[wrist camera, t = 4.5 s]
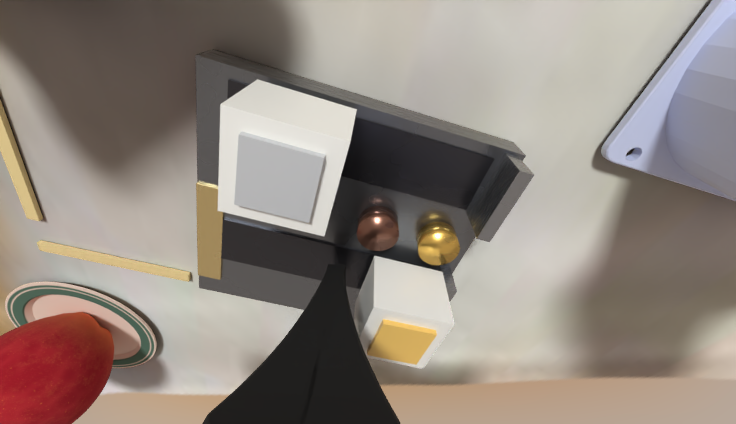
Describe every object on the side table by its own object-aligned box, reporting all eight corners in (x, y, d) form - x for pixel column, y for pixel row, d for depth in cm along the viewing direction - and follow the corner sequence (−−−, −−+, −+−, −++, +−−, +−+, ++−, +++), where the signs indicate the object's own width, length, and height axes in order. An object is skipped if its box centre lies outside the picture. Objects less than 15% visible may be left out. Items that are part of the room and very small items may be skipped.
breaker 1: (356, 109, 10) (349, 144, 7) (334, 190, 11) (323, 241, 9) (257, 79, 9) (216, 106, 7) (249, 168, 11) (214, 214, 9)
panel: (513, 142, 12) (543, 174, 10) (413, 313, 18) (417, 358, 15) (213, 49, 10) (169, 62, 8) (210, 269, 16) (184, 311, 14)
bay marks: (180, 22, 10) (177, 22, 10) (190, 278, 16) (188, 281, 16) (-74, -59, 9) (-83, -60, 9) (43, 247, 16) (39, 250, 15)
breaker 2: (442, 271, 13) (455, 329, 11) (416, 315, 15) (423, 373, 13) (374, 255, 13) (373, 311, 11) (355, 302, 15) (350, 359, 12)
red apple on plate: (86, 366, 22) (-9, 486, 17) (-20, 288, 18) (-196, 417, 12) (186, 351, 21) (118, 477, 15) (97, 263, 16) (-42, 396, 11)
